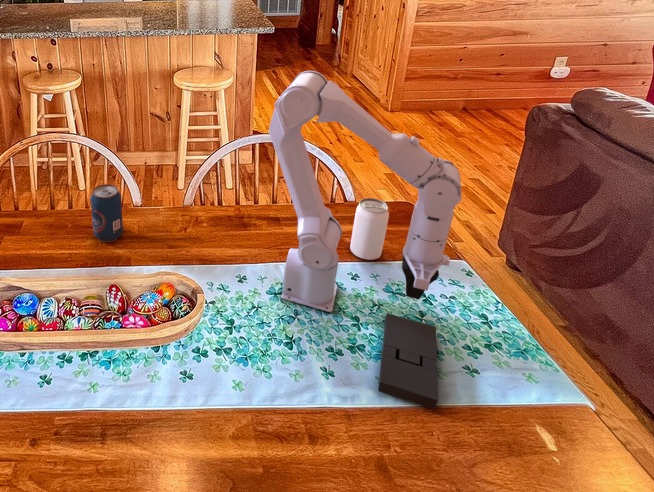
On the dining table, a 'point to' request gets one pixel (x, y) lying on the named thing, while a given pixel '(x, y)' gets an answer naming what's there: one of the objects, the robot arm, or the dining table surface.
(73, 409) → the dining table surface
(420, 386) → the notch pad
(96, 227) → the soda can
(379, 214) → the can
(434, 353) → the tab pad
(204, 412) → the dining table surface
